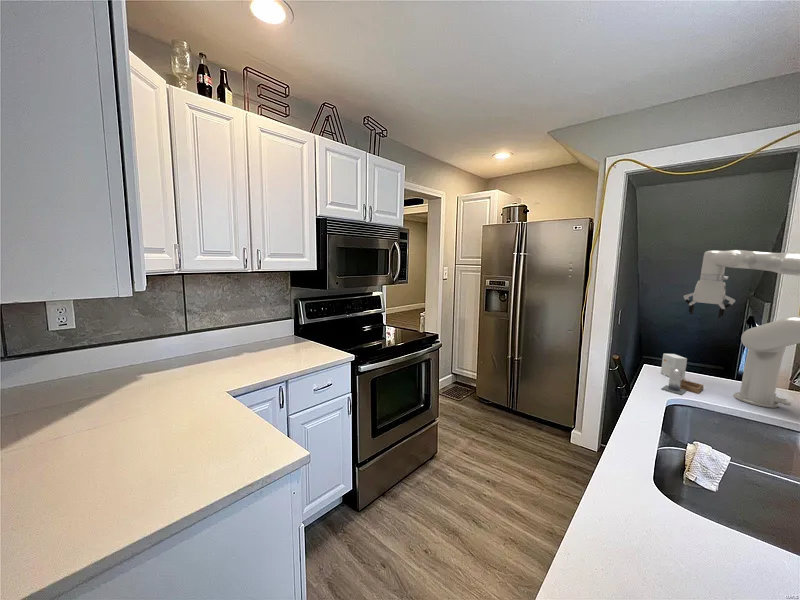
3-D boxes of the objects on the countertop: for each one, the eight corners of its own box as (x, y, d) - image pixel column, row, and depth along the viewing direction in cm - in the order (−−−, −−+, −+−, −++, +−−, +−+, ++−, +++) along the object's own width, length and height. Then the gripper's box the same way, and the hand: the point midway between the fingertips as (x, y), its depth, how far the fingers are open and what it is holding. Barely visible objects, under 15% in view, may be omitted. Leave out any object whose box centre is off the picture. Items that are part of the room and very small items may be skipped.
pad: (686, 391, 143) (686, 390, 143) (681, 395, 138) (681, 393, 138) (666, 386, 148) (666, 385, 148) (661, 389, 144) (661, 388, 144)
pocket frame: (702, 389, 146) (703, 384, 146) (698, 393, 141) (699, 388, 141) (678, 383, 153) (679, 378, 152) (673, 387, 147) (674, 382, 147)
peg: (681, 389, 143) (684, 370, 142) (678, 391, 140) (681, 371, 139) (669, 386, 146) (672, 367, 145) (666, 388, 144) (669, 369, 142)
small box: (684, 379, 158) (687, 358, 157) (672, 379, 158) (676, 358, 157) (671, 373, 166) (674, 353, 165) (660, 373, 166) (663, 353, 165)
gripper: (740, 279, 142) (733, 318, 145) (688, 276, 156) (683, 312, 158) (737, 279, 138) (730, 319, 140) (684, 276, 151) (678, 313, 154)
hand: (705, 315), depth 149 cm, fingers open, 9 cm apart
